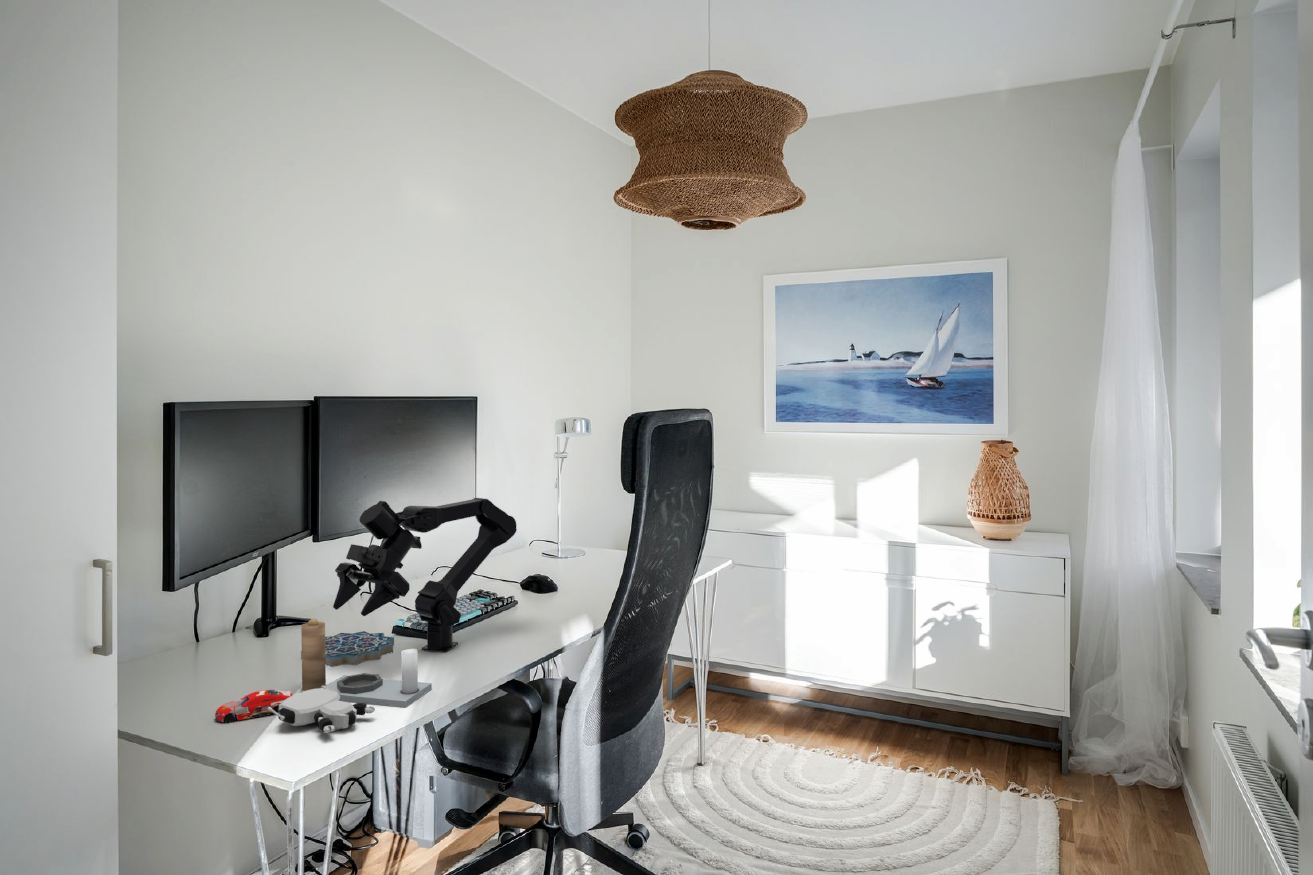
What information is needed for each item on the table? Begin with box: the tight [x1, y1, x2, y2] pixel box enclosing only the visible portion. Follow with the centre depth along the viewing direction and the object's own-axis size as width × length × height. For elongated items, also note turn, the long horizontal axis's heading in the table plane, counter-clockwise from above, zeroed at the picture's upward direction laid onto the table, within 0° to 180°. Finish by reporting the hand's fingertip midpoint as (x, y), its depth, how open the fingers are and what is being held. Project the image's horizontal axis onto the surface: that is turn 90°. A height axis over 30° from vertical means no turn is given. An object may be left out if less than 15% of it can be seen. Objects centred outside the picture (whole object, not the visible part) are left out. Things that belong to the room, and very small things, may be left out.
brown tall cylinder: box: [300, 618, 327, 692], centre depth 158 cm, size 4×4×14 cm
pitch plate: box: [325, 648, 433, 708], centre depth 155 cm, size 10×20×9 cm, turn 77°
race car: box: [214, 689, 293, 724], centre depth 145 cm, size 13×5×4 cm, turn 118°
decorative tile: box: [300, 630, 395, 668], centre depth 182 cm, size 20×20×2 cm
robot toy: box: [268, 686, 376, 734], centre depth 141 cm, size 12×4×15 cm
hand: (348, 611), depth 165 cm, fingers open, 9 cm apart
